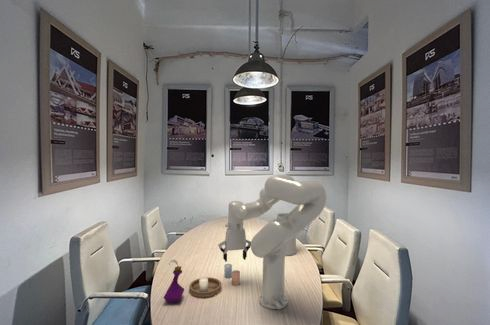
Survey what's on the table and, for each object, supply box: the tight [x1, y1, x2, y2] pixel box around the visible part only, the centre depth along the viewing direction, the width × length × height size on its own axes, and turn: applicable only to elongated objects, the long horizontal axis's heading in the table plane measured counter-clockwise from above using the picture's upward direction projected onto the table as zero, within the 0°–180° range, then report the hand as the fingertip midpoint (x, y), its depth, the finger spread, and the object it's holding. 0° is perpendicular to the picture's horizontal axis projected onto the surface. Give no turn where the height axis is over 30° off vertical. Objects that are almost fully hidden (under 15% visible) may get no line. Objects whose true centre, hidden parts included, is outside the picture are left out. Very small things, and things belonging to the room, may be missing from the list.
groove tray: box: [188, 276, 222, 299], centre depth 123 cm, size 15×15×2 cm
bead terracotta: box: [231, 269, 241, 287], centre depth 129 cm, size 4×4×6 cm
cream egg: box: [198, 276, 208, 292], centre depth 119 cm, size 4×4×6 cm
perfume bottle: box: [163, 258, 185, 304], centre depth 114 cm, size 8×8×18 cm
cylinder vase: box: [276, 212, 297, 257], centre depth 171 cm, size 12×12×25 cm
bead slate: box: [223, 263, 233, 279], centre depth 137 cm, size 4×4×6 cm
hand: (234, 259), depth 129 cm, fingers open, 9 cm apart
